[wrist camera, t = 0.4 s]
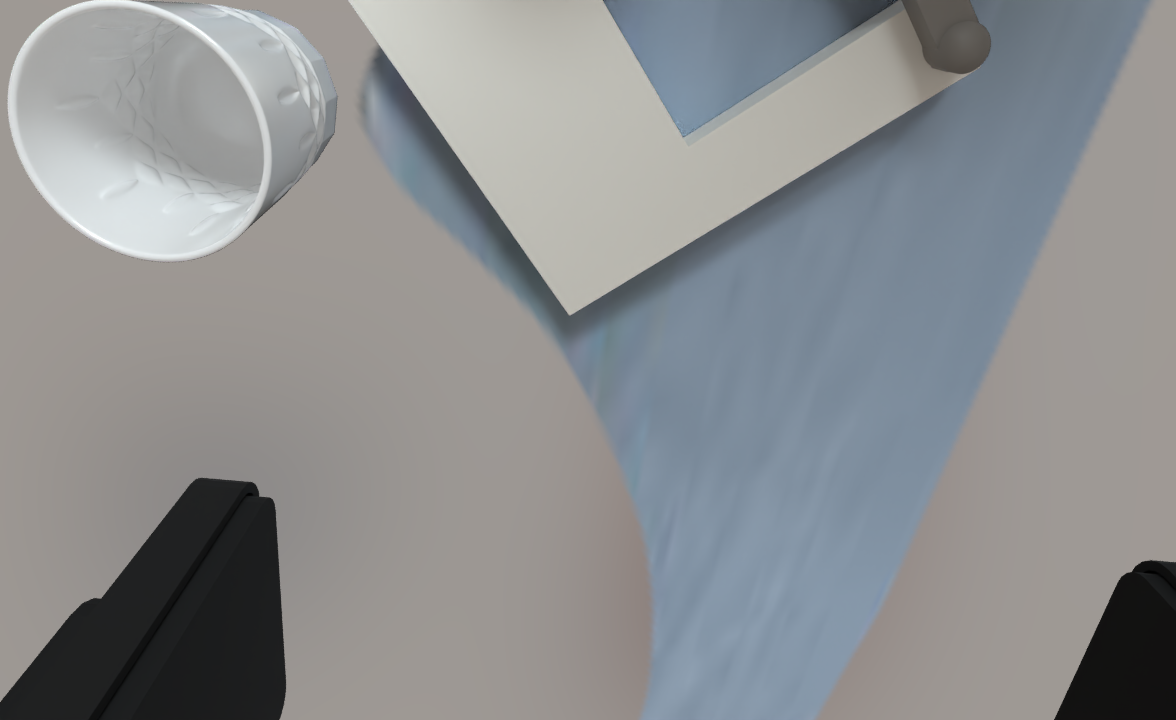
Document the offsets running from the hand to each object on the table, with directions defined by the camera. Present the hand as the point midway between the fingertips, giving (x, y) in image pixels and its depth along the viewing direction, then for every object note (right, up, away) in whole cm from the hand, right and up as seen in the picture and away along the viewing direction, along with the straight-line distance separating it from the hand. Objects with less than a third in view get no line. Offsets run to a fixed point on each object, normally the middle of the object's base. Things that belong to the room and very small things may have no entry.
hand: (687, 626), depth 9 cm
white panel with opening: (+1, +17, +24) cm, 29 cm away
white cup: (-15, +14, +26) cm, 33 cm away
